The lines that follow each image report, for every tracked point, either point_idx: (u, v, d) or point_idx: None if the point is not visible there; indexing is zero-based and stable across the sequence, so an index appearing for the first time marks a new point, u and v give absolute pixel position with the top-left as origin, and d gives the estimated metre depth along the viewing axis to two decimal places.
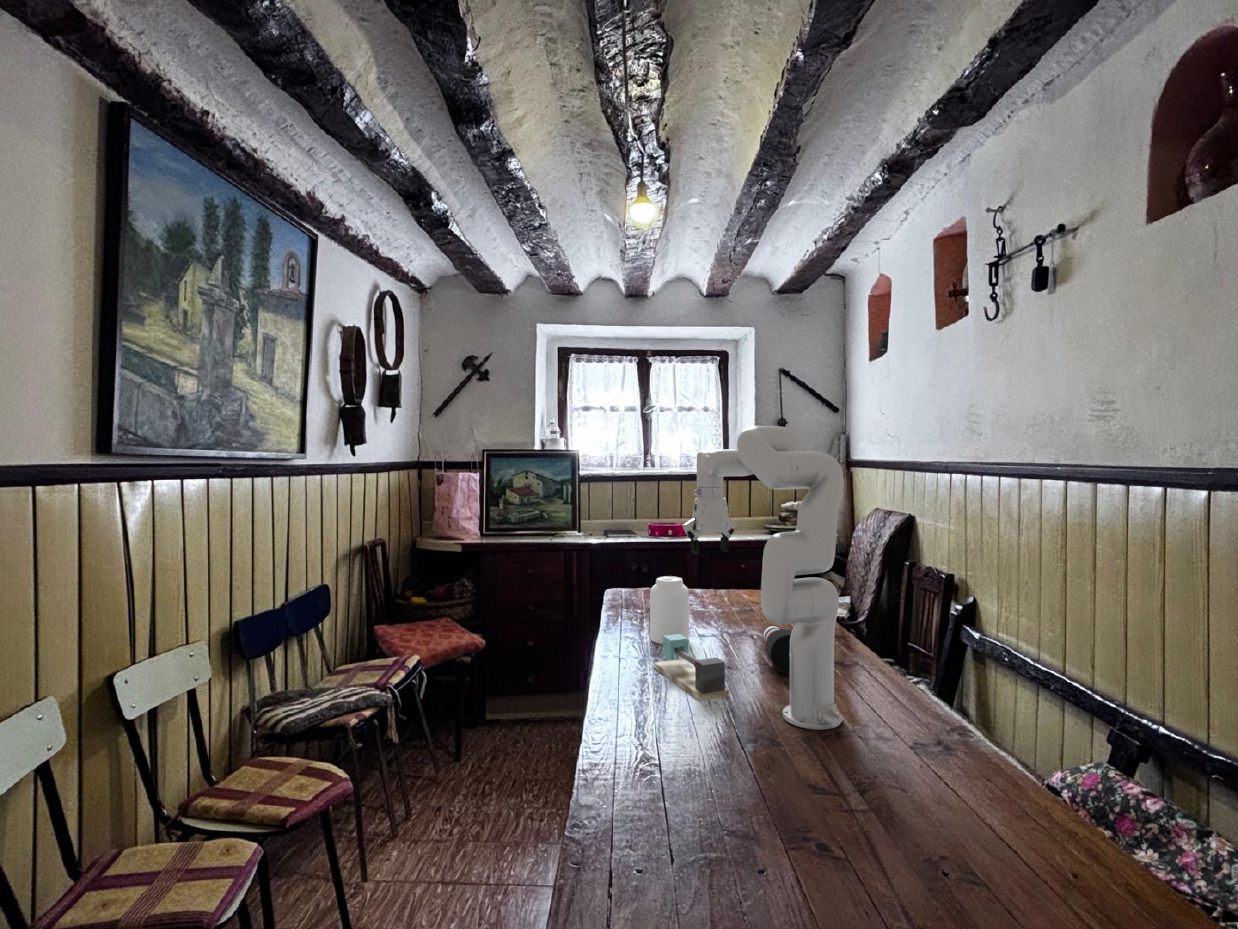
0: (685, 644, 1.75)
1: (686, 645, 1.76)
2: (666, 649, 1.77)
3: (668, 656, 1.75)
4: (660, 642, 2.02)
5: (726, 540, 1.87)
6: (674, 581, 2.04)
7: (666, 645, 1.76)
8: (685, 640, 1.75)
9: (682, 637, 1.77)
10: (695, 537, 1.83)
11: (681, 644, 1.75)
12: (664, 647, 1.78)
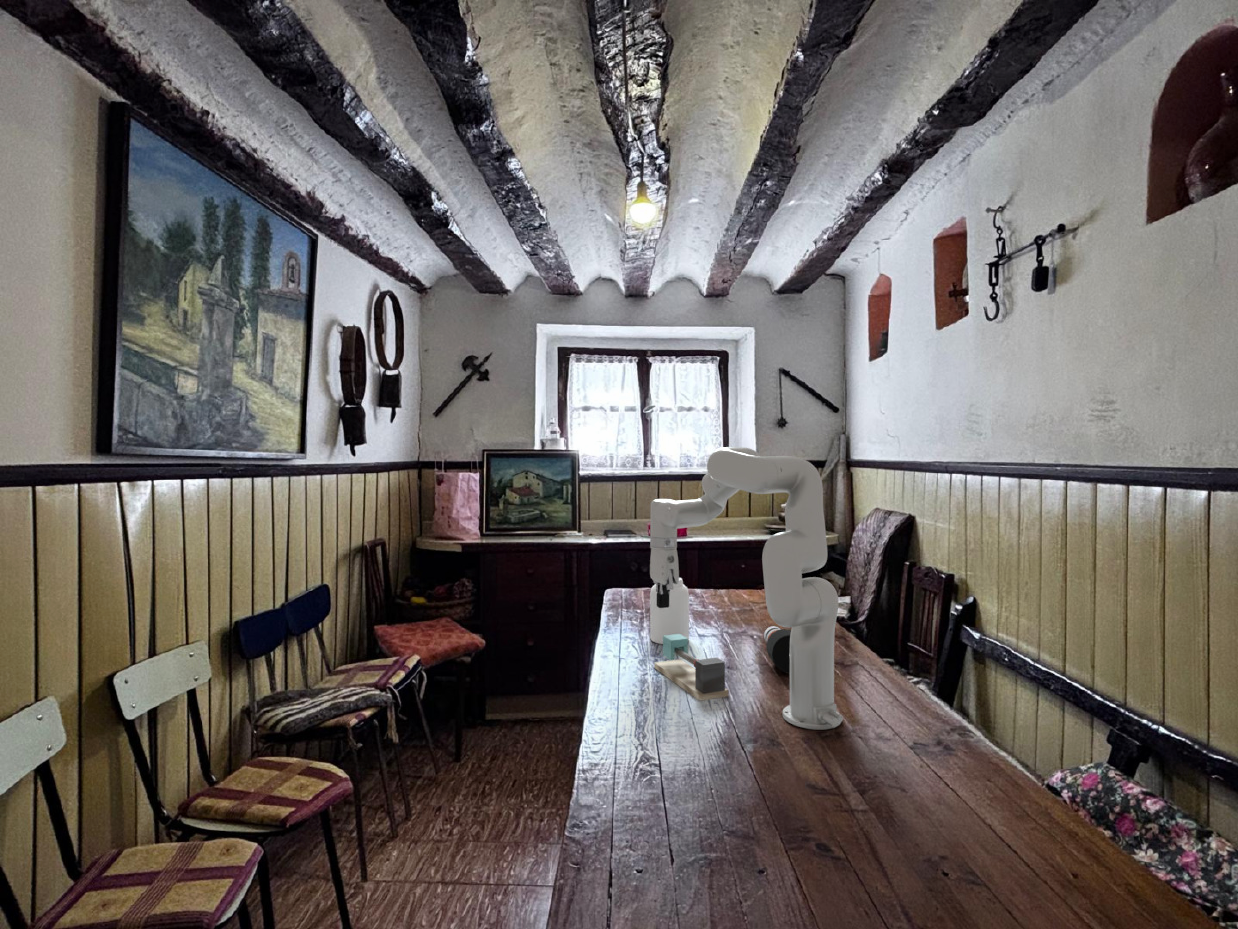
0: (685, 644, 1.75)
1: (686, 645, 1.76)
2: (666, 649, 1.77)
3: (668, 656, 1.75)
4: (660, 642, 2.02)
5: None
6: None
7: (666, 645, 1.76)
8: (685, 640, 1.75)
9: (682, 637, 1.77)
10: None
11: (681, 644, 1.75)
12: (664, 647, 1.78)
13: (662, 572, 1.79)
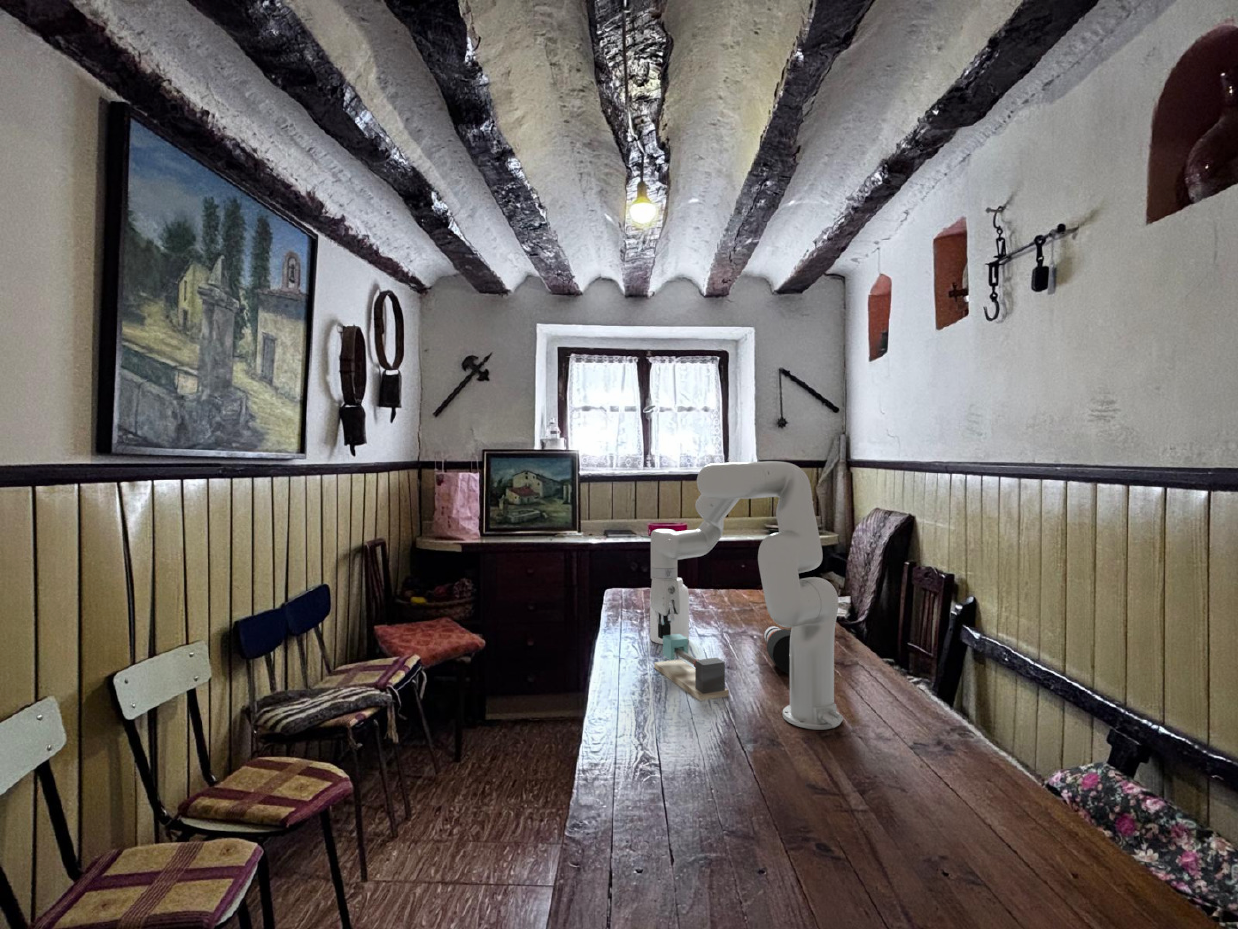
0: (685, 644, 1.75)
1: (686, 645, 1.76)
2: (666, 649, 1.77)
3: (668, 656, 1.75)
4: (660, 642, 2.02)
5: None
6: None
7: (666, 645, 1.76)
8: (685, 640, 1.75)
9: (682, 637, 1.77)
10: None
11: (681, 644, 1.75)
12: (664, 647, 1.78)
13: (663, 603, 1.79)
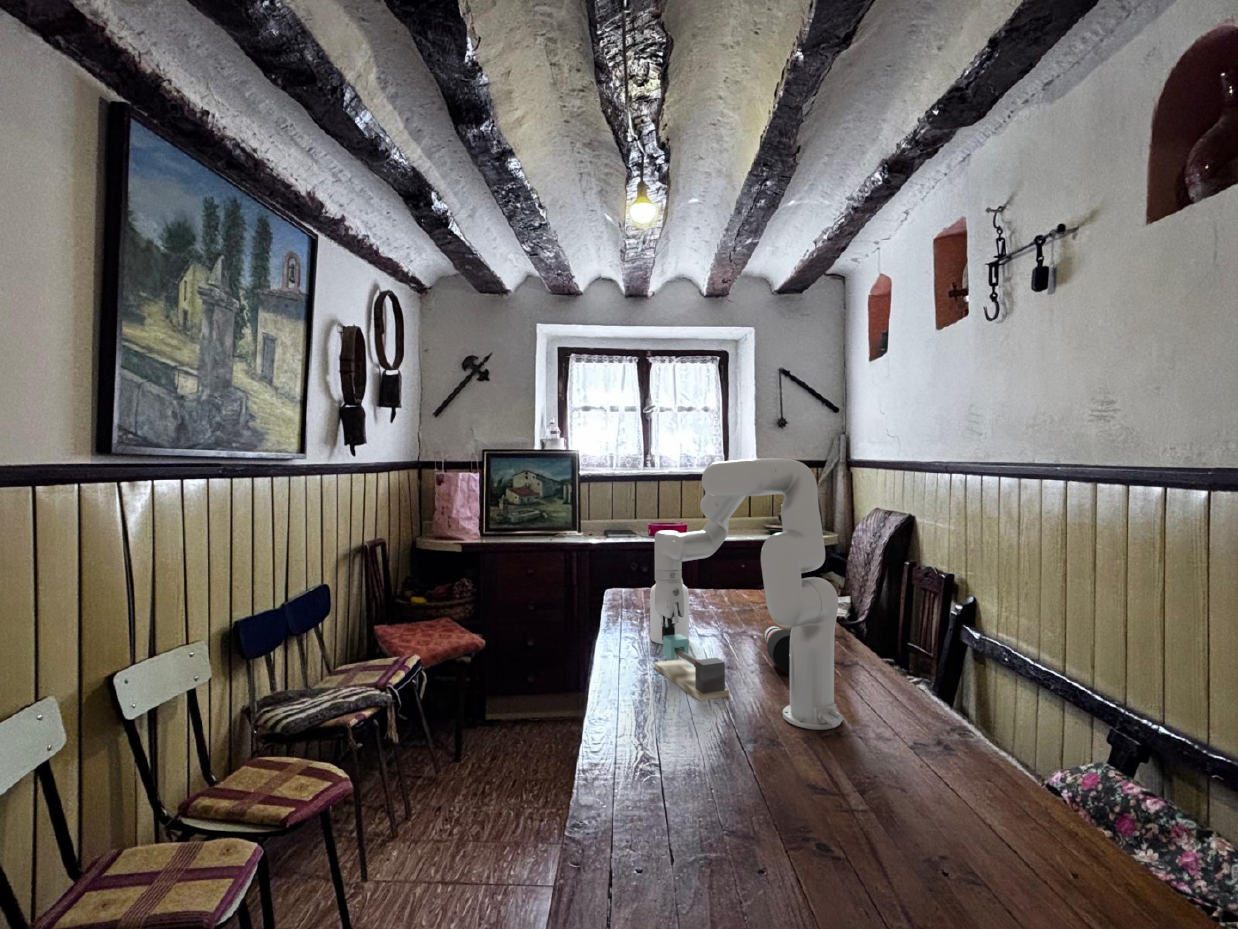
0: (685, 644, 1.75)
1: (686, 645, 1.75)
2: (666, 649, 1.76)
3: (668, 656, 1.75)
4: (660, 642, 2.02)
5: None
6: None
7: (666, 646, 1.76)
8: (685, 640, 1.75)
9: (682, 637, 1.77)
10: None
11: (681, 644, 1.75)
12: (664, 647, 1.78)
13: (667, 605, 1.76)
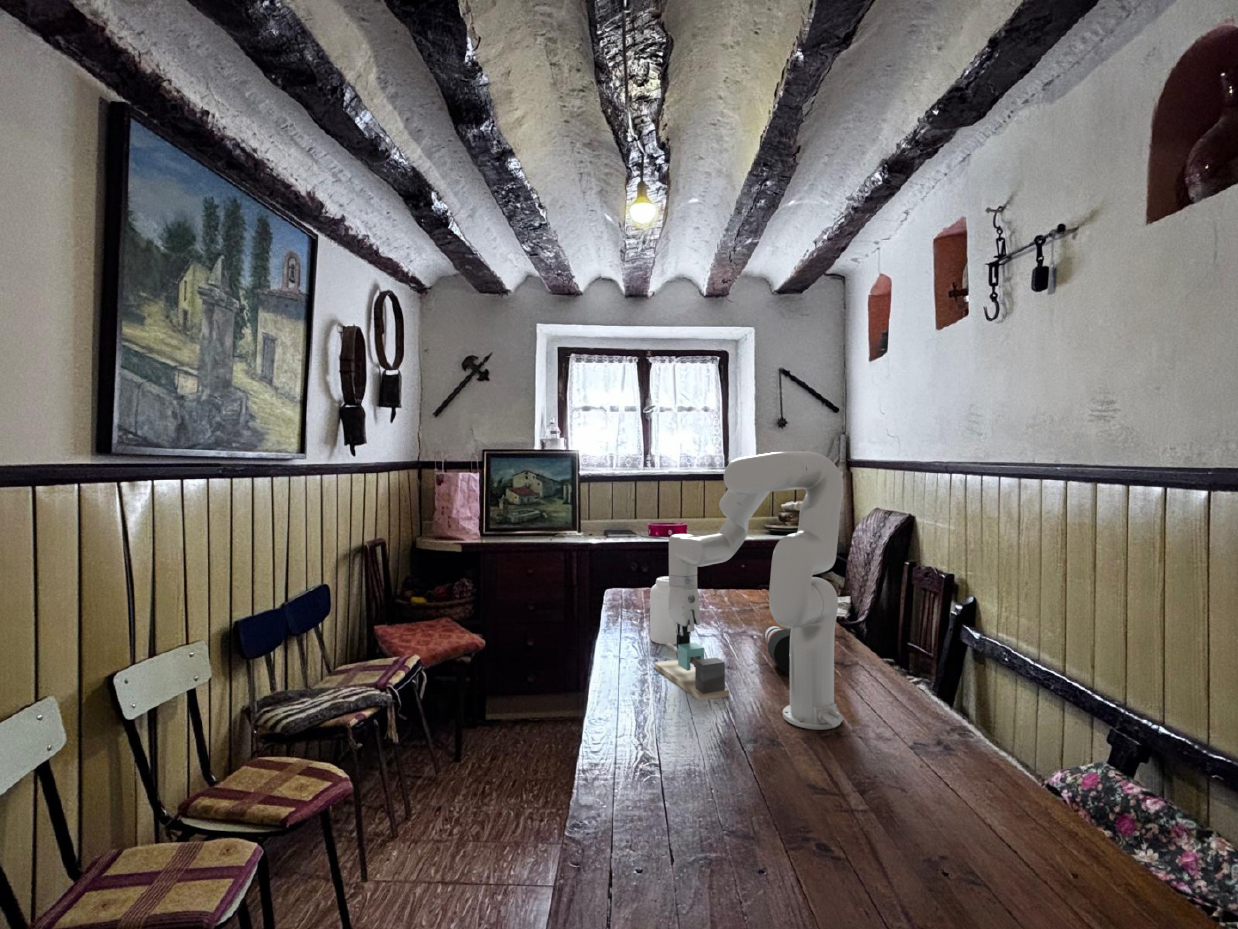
0: (701, 654, 1.67)
1: (702, 655, 1.67)
2: (681, 659, 1.68)
3: (684, 666, 1.67)
4: (660, 642, 2.02)
5: None
6: None
7: (682, 655, 1.68)
8: (701, 649, 1.67)
9: (698, 646, 1.68)
10: None
11: (697, 654, 1.67)
12: (679, 657, 1.69)
13: (682, 613, 1.68)
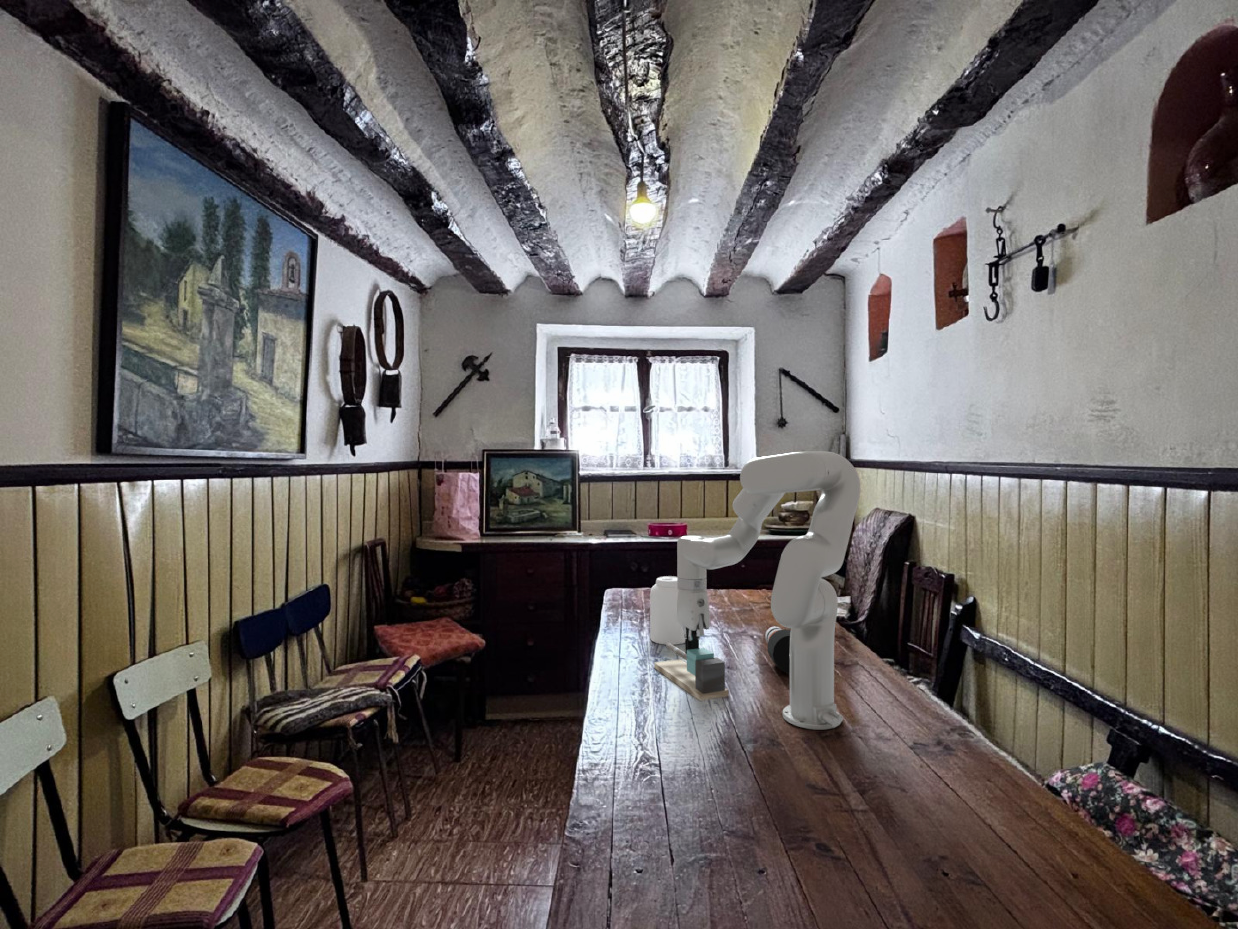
0: None
1: None
2: (690, 665, 1.63)
3: (693, 672, 1.62)
4: (660, 642, 2.02)
5: None
6: (674, 581, 2.04)
7: (691, 661, 1.63)
8: (711, 655, 1.62)
9: (708, 651, 1.64)
10: None
11: None
12: (688, 662, 1.65)
13: (691, 617, 1.63)
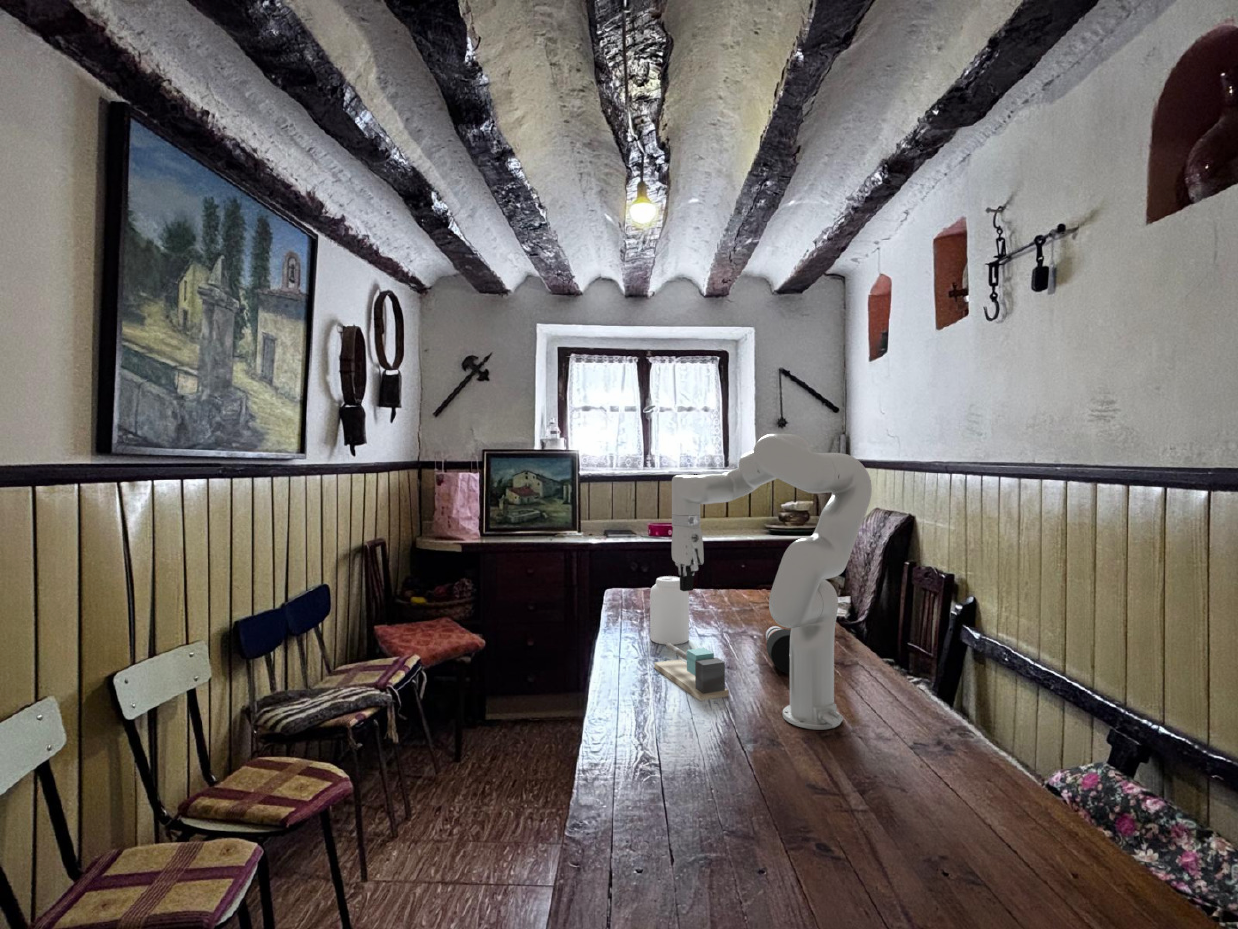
0: None
1: None
2: (690, 665, 1.64)
3: (693, 672, 1.62)
4: (660, 642, 2.02)
5: None
6: (674, 581, 2.04)
7: (691, 661, 1.63)
8: (711, 655, 1.62)
9: (708, 651, 1.64)
10: None
11: None
12: (688, 662, 1.65)
13: (686, 552, 1.67)
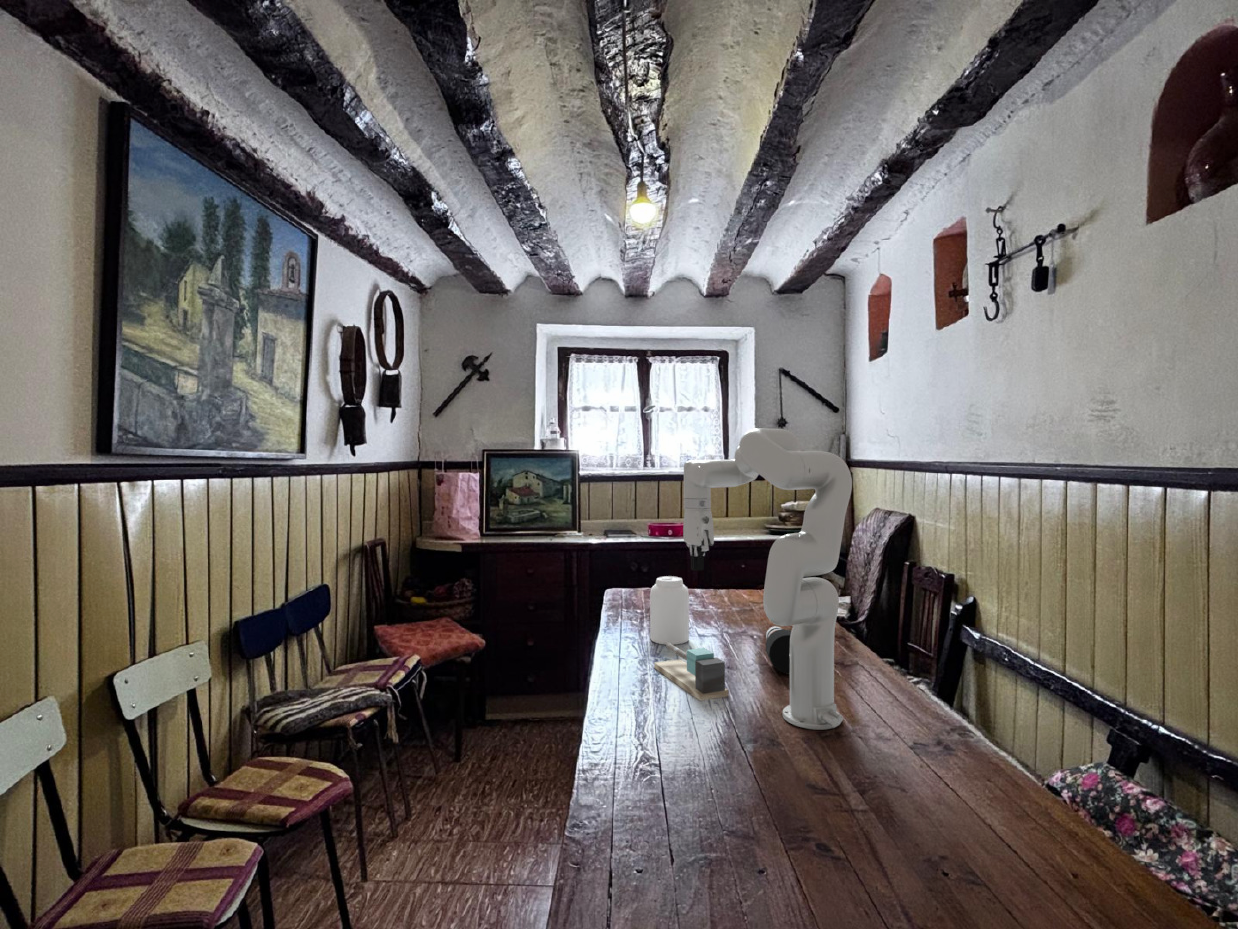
0: None
1: None
2: (690, 665, 1.64)
3: (693, 672, 1.62)
4: (660, 642, 2.02)
5: None
6: (674, 581, 2.04)
7: (691, 661, 1.63)
8: (711, 655, 1.62)
9: (708, 651, 1.64)
10: None
11: None
12: (688, 662, 1.65)
13: (697, 533, 1.77)
